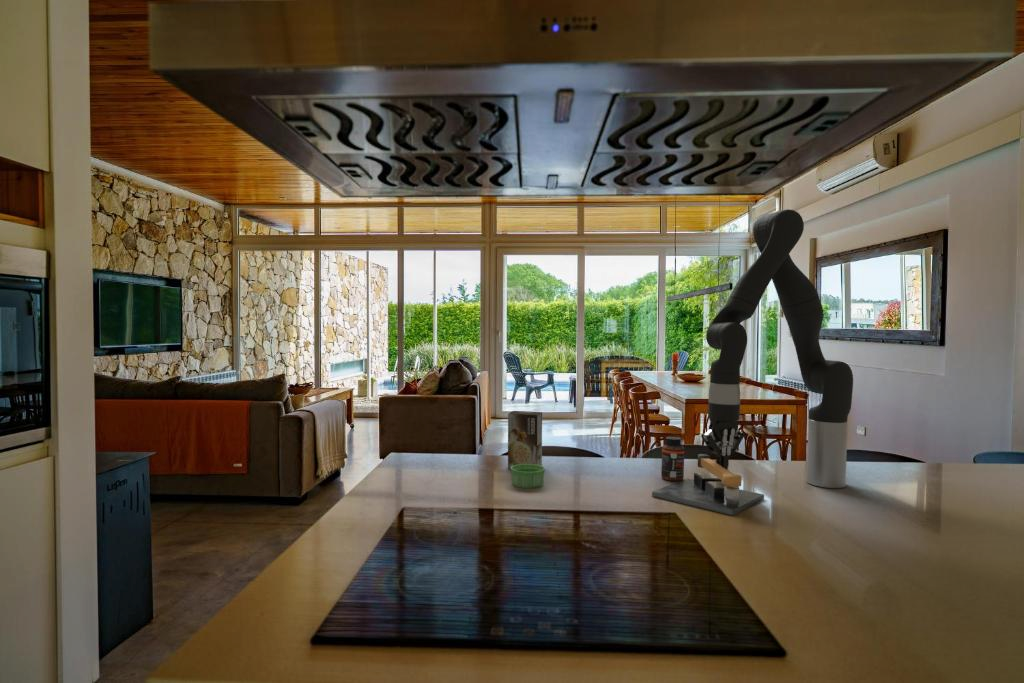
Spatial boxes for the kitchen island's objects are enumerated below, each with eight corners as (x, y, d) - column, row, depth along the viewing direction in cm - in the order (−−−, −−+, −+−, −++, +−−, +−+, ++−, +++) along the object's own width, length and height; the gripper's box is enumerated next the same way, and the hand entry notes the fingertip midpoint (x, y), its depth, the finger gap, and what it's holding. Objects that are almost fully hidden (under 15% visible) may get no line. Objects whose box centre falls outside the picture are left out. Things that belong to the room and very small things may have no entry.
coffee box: (542, 466, 172) (543, 411, 172) (537, 471, 166) (538, 414, 165) (512, 463, 175) (513, 410, 174) (506, 468, 169) (507, 413, 168)
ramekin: (545, 480, 156) (545, 464, 156) (544, 489, 147) (544, 472, 147) (512, 479, 157) (512, 462, 157) (508, 488, 148) (509, 471, 148)
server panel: (689, 482, 156) (689, 463, 156) (765, 498, 142) (765, 477, 142) (652, 496, 143) (652, 475, 143) (732, 515, 129) (732, 492, 129)
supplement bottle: (678, 483, 156) (679, 440, 155) (657, 479, 159) (658, 437, 159) (687, 478, 160) (688, 437, 160) (666, 475, 164) (667, 434, 164)
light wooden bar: (744, 489, 131) (744, 475, 131) (726, 488, 131) (726, 475, 131) (709, 465, 153) (709, 454, 153) (693, 465, 153) (694, 453, 153)
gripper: (715, 404, 141) (713, 475, 142) (755, 402, 147) (753, 470, 147) (693, 400, 148) (691, 468, 148) (731, 398, 154) (730, 464, 154)
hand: (722, 469), depth 148 cm, fingers closed
